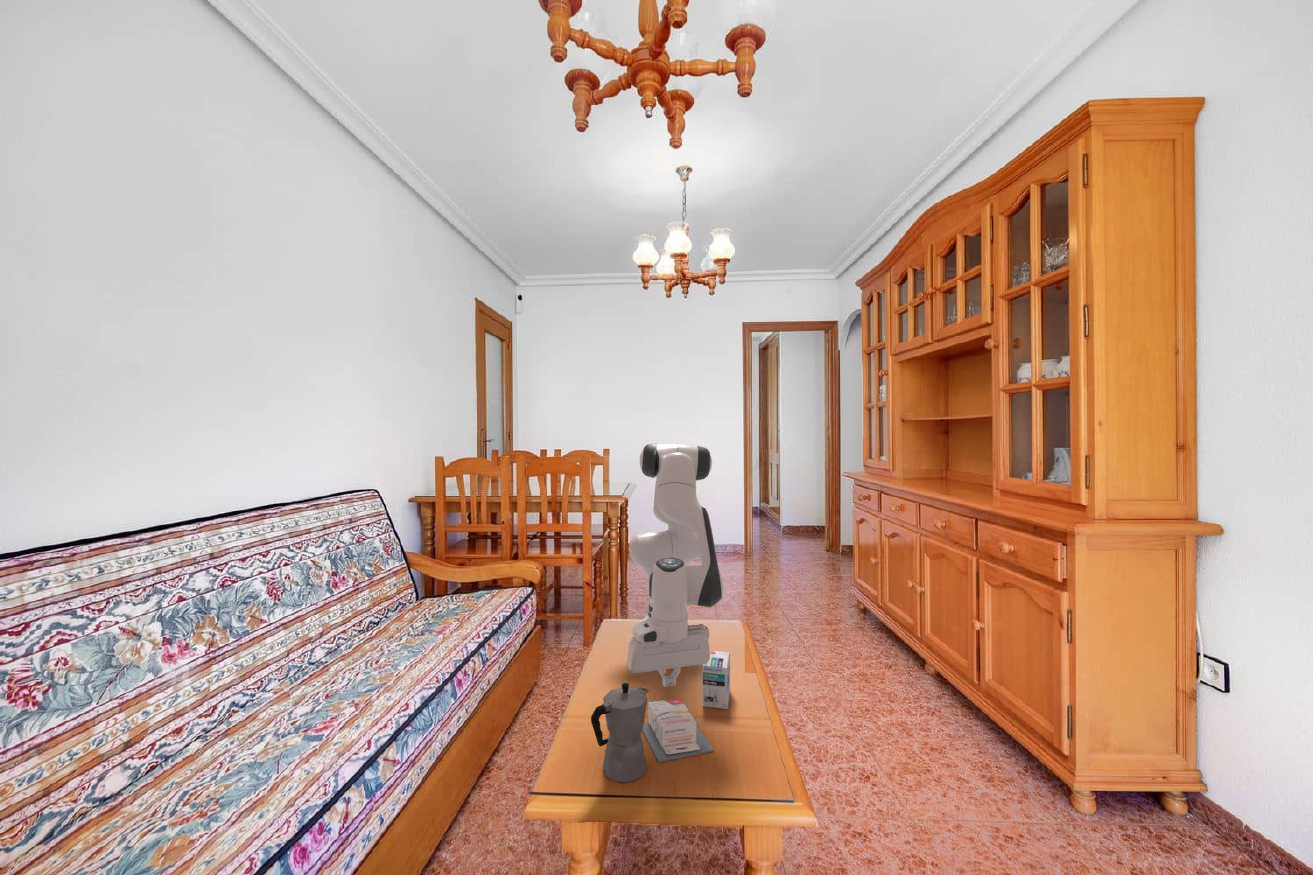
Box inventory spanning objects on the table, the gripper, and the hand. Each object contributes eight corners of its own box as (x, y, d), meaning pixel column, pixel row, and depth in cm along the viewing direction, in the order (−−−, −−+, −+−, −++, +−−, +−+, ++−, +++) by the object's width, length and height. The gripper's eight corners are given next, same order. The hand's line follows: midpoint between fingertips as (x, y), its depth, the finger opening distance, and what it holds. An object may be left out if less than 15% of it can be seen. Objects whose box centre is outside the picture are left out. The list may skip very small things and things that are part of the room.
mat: (640, 727, 124) (640, 725, 124) (690, 718, 128) (690, 717, 128) (658, 762, 111) (658, 760, 111) (713, 751, 115) (713, 749, 115)
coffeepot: (633, 746, 116) (633, 666, 117) (662, 765, 110) (663, 680, 110) (577, 777, 106) (577, 689, 106) (605, 800, 99) (606, 706, 99)
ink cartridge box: (680, 696, 129) (702, 728, 114) (680, 716, 128) (702, 750, 114) (647, 701, 126) (666, 734, 112) (647, 721, 126) (665, 757, 112)
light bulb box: (727, 710, 133) (728, 668, 133) (701, 707, 134) (702, 665, 134) (730, 690, 143) (730, 651, 143) (706, 687, 144) (706, 649, 144)
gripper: (704, 619, 130) (703, 673, 130) (625, 627, 124) (625, 685, 124) (714, 627, 124) (714, 685, 124) (632, 636, 118) (632, 697, 118)
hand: (669, 685), depth 124 cm, fingers closed
